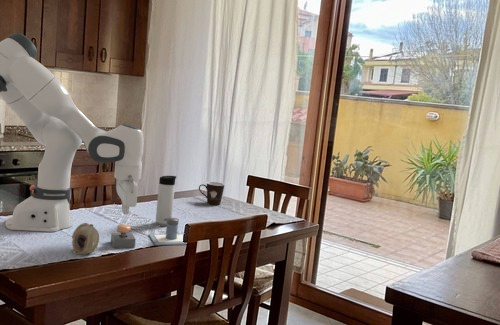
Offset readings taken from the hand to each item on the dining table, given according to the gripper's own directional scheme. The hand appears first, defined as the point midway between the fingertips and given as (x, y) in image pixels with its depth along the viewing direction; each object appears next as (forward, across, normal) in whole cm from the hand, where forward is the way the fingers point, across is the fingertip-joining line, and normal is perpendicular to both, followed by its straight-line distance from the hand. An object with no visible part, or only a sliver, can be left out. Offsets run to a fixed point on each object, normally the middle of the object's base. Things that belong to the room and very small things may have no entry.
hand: (125, 213), depth 177 cm
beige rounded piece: (+11, -7, +13) cm, 19 cm away
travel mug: (+12, +24, -20) cm, 33 cm away
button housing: (+11, 0, 0) cm, 11 cm away
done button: (+9, 0, 0) cm, 9 cm away
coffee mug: (+12, +60, -52) cm, 80 cm away
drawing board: (+11, +4, -18) cm, 22 cm away
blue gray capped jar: (+10, +4, -18) cm, 21 cm away
